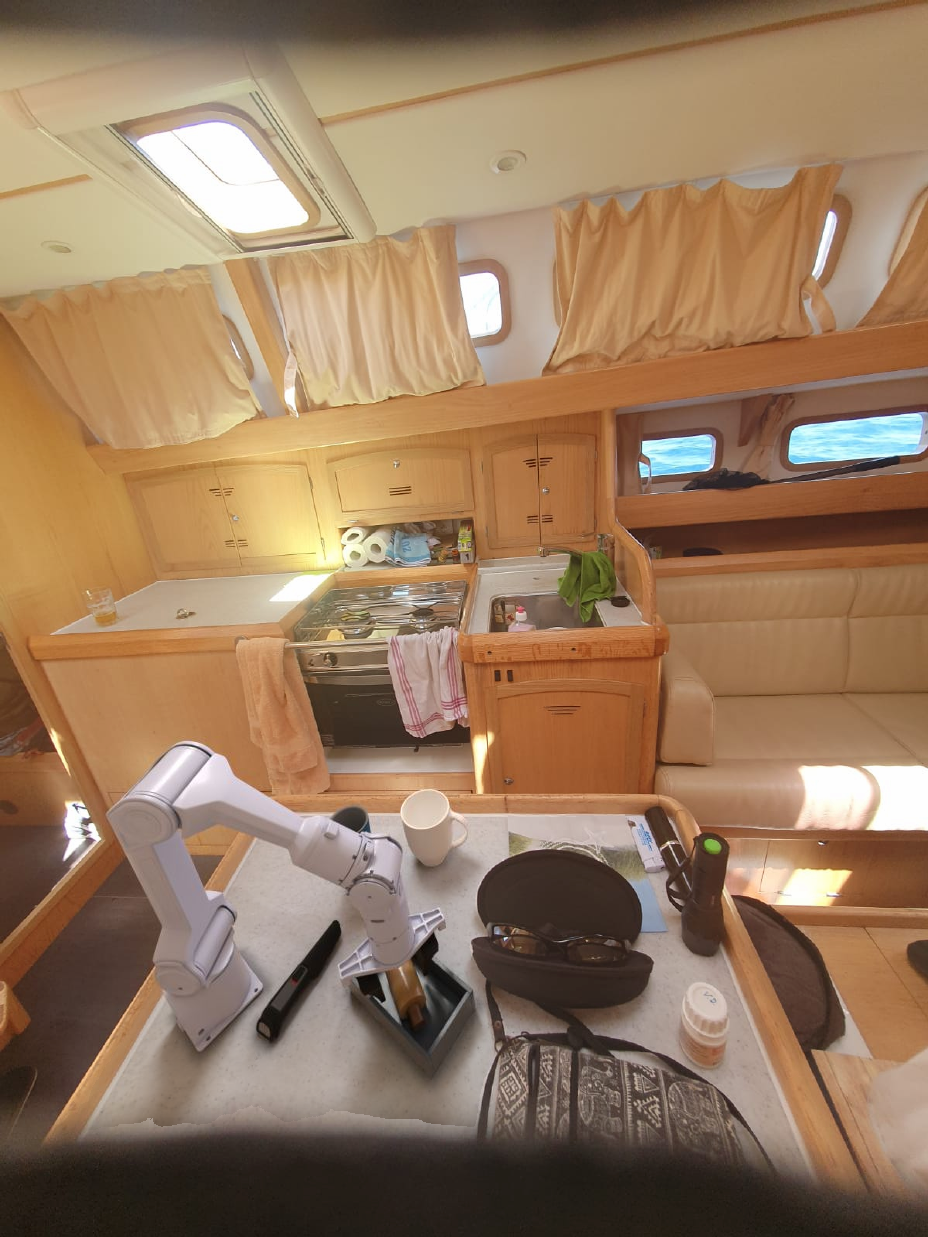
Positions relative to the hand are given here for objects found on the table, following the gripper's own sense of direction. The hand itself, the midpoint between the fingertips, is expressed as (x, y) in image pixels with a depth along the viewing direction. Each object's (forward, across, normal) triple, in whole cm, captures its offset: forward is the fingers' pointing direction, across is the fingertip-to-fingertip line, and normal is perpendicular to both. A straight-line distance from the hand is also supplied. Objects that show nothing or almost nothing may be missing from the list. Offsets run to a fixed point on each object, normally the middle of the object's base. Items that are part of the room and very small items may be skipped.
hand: (402, 981), depth 63 cm
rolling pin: (+3, 0, 0) cm, 3 cm away
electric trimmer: (+3, +13, -10) cm, 16 cm away
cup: (+3, 0, -21) cm, 21 cm away
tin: (+3, 0, +1) cm, 3 cm away
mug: (+3, -14, -18) cm, 23 cm away
